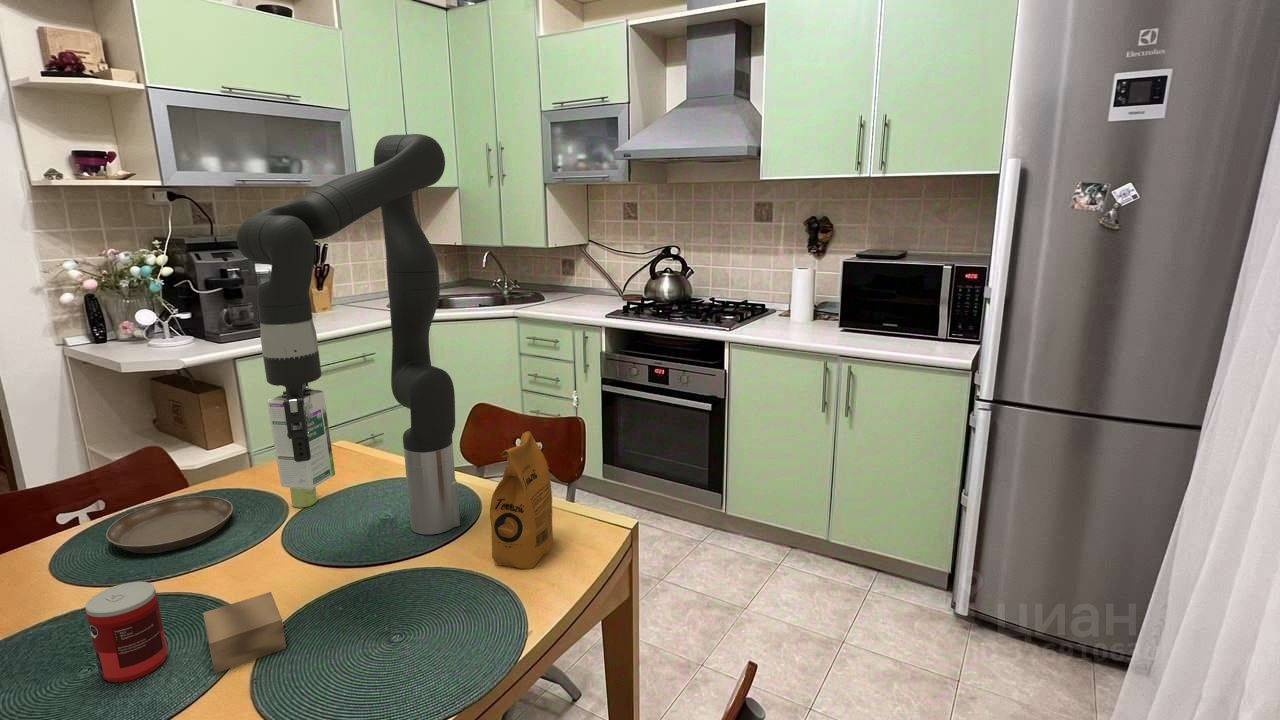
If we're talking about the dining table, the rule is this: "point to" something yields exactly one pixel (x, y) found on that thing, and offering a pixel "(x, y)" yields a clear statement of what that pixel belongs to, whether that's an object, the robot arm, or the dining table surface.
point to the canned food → (126, 631)
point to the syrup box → (319, 442)
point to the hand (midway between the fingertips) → (304, 451)
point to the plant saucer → (170, 524)
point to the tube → (303, 497)
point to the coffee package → (522, 507)
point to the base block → (244, 631)
